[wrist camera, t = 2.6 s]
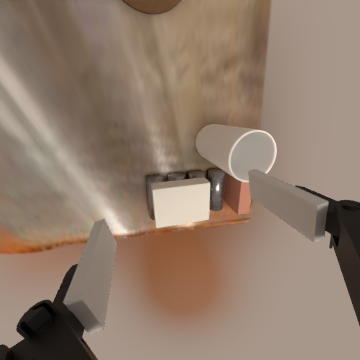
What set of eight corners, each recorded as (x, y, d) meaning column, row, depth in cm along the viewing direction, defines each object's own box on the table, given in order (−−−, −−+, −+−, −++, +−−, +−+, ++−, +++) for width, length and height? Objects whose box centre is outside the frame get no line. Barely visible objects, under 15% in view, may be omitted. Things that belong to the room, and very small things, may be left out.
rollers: (149, 212, 44) (150, 221, 40) (145, 175, 40) (146, 181, 37) (218, 202, 48) (225, 209, 44) (220, 167, 44) (228, 172, 40)
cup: (188, 145, 40) (218, 163, 26) (211, 116, 39) (255, 117, 24) (212, 165, 43) (251, 191, 29) (234, 138, 42) (286, 151, 28)
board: (154, 219, 40) (156, 228, 37) (151, 183, 37) (152, 189, 34) (203, 211, 43) (208, 219, 39) (204, 177, 39) (210, 182, 36)
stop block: (224, 201, 48) (237, 214, 42) (226, 166, 44) (242, 175, 38) (234, 199, 49) (248, 212, 42) (237, 165, 45) (254, 174, 39)
